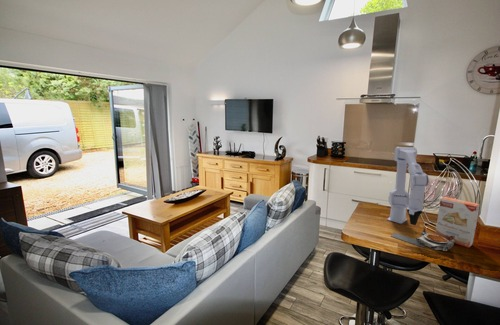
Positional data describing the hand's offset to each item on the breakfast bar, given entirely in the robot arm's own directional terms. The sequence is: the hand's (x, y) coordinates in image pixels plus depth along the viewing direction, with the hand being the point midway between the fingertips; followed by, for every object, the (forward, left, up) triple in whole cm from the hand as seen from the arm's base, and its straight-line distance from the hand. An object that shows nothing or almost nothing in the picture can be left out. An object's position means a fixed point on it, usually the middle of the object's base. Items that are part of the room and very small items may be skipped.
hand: (413, 224), depth 125 cm
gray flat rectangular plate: (+2, -1, -8) cm, 8 cm away
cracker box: (-14, +14, -8) cm, 22 cm away
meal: (-3, +2, -6) cm, 7 cm away
